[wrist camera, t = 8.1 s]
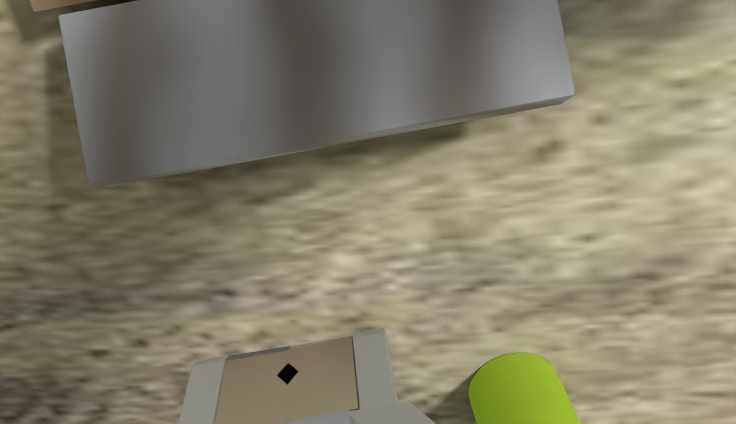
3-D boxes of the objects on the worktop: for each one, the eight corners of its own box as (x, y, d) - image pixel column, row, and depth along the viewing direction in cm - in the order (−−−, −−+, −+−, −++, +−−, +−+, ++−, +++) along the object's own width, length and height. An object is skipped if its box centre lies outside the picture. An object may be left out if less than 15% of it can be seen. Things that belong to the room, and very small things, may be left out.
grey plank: (531, -54, 27) (543, -76, 25) (560, 103, 27) (575, 94, 25) (81, 30, 27) (58, 15, 25) (109, 187, 27) (87, 184, 25)
